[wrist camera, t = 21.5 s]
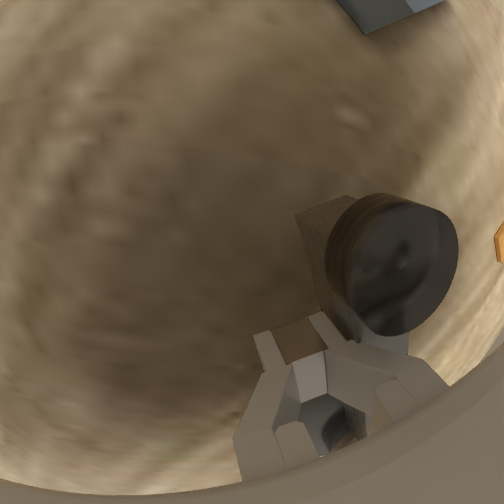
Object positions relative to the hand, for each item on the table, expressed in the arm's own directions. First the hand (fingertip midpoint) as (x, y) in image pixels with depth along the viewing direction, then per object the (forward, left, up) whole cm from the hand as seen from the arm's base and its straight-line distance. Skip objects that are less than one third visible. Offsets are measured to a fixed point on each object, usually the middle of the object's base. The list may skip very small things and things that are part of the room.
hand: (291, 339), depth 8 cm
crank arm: (+1, -4, -1) cm, 4 cm away
